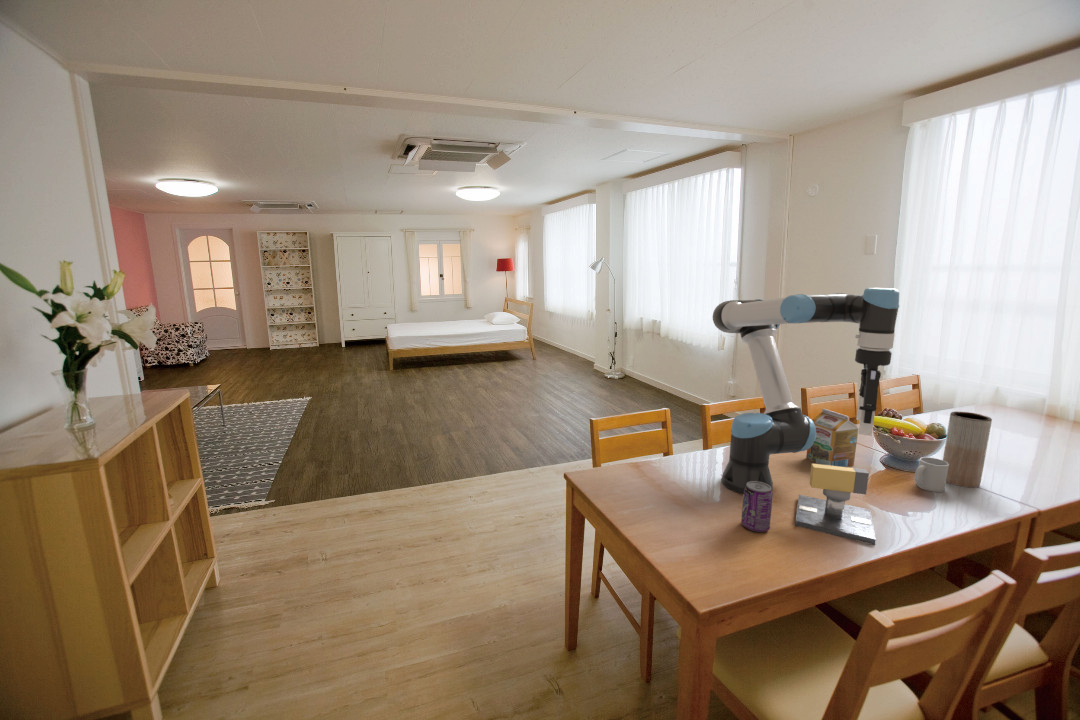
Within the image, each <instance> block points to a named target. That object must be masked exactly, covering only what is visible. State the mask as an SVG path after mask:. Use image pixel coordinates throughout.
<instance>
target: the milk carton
mask: <svg viewBox="0 0 1080 720" xmlns="http://www.w3.org/2000/svg"><path fill="white" fill-rule="evenodd" d="M812 421H813V422H814V424H815V428H816V438H815V441H814V442H813V445H812V446H811V447H810V448H809V449H807V450H806V454H805V455H806V456H805V459H806V458H807V459H806V460H808V459H809V461H811V462H813V463H814V464H821V465H830V466H839V467H848V468H851V467H854V466H855V457H856V451H857V450H856V449H857V443H858V442H857V441H858V435H859V426H857V425H856V424H855V423H854V422H852V421H850V417H849V415H845V414H842V413H838V412H836V411H832V410H830V409H826V408H822V409H821V412H820V413H819V414H817V415H816V416H815V417H813V419H812Z"/></svg>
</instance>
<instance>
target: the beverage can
mask: <svg viewBox="0 0 1080 720" xmlns="http://www.w3.org/2000/svg"><path fill="white" fill-rule="evenodd" d="M771 489H772V491H771ZM773 496H774V495H773V488H771V486H769V485H768V484H766V483H763V482H758V481H750V482H747V484H746V487H745V489H744V494H743V499H742V508H741V509H742V510H741V511H742V512H741V520H740V521H741V524H742V526H743V527H745V528H746V529H748V530H750V531H752V532H756V533H762V532H767V531H769V530H770V529H771V518H772V508H773V507H772V506H773V500H774V499H773Z"/></svg>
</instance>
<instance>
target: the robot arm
mask: <svg viewBox="0 0 1080 720" xmlns="http://www.w3.org/2000/svg"><path fill="white" fill-rule="evenodd" d="M899 308H900V291H899V290H898V289H897V288H891V287H890V288H889V287H867V288H865V289H864V290H863V294H862V295H861V294H850V293H840V292H839V293H837V292H836V293H829V294H826V293H825V294H803V293H800V294H793V295H788V296H786V297H781V298H772V299H757V298H756V299H747V300H745V299H744V300H743V299H741V300H740V299H739V300H736V299H731V300H725V301H723V302H721V303H719V304H718V305H717V306H716V307H715V308H714V310H713V313H712V322H713V324H714V326H715V327H716V328H717V329H718V330H720V331H721V332H723V333H727V334H740V338H741V340H742V342H743V343H745V344H747V345H748V349H749V353H750V356H751V360H752V363H753V367H754V371H755V375H756V378H757V381H758V386H759V389H760V392H761V395H762V400H763V402H764V406H765V411H764V412H763V413H762V412H746V413H740V414H738V415H736V416H735V417H734V418H733V420H732V424H731V427H730V443H729V444H730V447H729V459H728V462H727V464H726V466H725V468H724V471H723V473H722V475H721V483H722V485H723V486H724V487H725V488H727V489H728V490H730V491H732V492H735V493H738V494H741V495H744V489H745V487H746V484H747V482H750V481H758V482H763V483H766V484H768V485H769V486H771V488H772V489H771V491H772V492H773V487H774V485H773V484H774V482H773V479H772V475H771V471H770V467H769V463H770V455H776V454H777V455H779V454H789V453H790V454H791V453H793V454H796V453H799V452H804V451H807V449H809V448H810V447H811V446H812V445H813V442H814V441H815V438H816V428H815V424H814V422H813V421H812V420H813V419H811V418H810V417H809V416H807V415H805V414H804V413H803V412H802V411H803V410H802V408H801V407H800V406H798V405H796V404H795V402H794V399H793V396H792V393H791V390H790V385H789V382H788V379H787V376H786V373H785V369H784V366H783V362H782V359H781V356H780V352H779V350H778V345H777V343H776V339H775V337H776V336H777V334H778V328H780V325H787V324H788V325H789V324H808V323H809V324H810V323H811V324H813V323H851V324H853V323H854V324H859V325H858V326H859V327H858V334H855V336H854V338H856V339H857V344H856V345H857V346H858V348H856V349H855V350H856V351H855V358H854V361H855V362H856V363H858V364H859V365H860V364H861V365H863V368H861V370H860V375H861V376H860V381H861V382H860V386H859V389H858V392H859V395H858V396H859V397H858V403H857V411H856V417H855V418H856V419H855V420H856V421H859V426H858V435H863V436H870V437H872V436H873V435H872V434H873V428H874V421H875V413H876V411H877V409H878V407H877V405H878V404H877V403H878V402H877V401H878V392H879V391H878V390H879V389H878V388H879V385H880V379H881V377H882V375H881V374H882V372H881V370H879V366H882V367H885V366H889V365H890V364H891V360H892V355H893V354H892V353H893V352H892V349H893V348H894V342H895V336H896V335H895V331H896V329H895V328H896V322H897V317H898V312H899ZM890 349H891V350H890Z"/></svg>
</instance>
